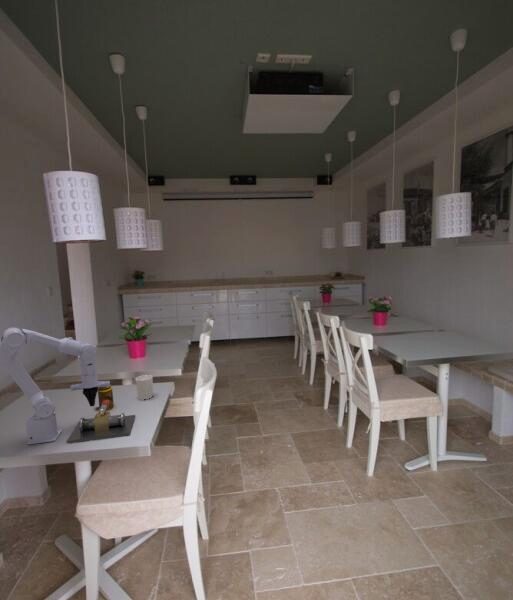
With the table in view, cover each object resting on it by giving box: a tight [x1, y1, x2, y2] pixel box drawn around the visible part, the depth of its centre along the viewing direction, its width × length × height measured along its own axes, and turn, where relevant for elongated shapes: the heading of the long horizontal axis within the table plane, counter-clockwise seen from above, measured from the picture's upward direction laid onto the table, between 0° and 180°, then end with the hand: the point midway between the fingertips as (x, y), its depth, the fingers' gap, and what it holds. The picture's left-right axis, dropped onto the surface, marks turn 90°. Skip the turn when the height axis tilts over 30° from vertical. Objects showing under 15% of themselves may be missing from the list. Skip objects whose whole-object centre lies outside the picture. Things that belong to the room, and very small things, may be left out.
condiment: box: [93, 381, 117, 415], centre depth 157 cm, size 7×8×12 cm
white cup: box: [134, 374, 154, 401], centre depth 168 cm, size 8×8×10 cm
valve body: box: [66, 411, 136, 444], centre depth 138 cm, size 22×16×7 cm
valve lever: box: [98, 400, 109, 414], centre depth 141 cm, size 10×2×2 cm, turn 12°
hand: (92, 405), depth 143 cm, fingers closed
